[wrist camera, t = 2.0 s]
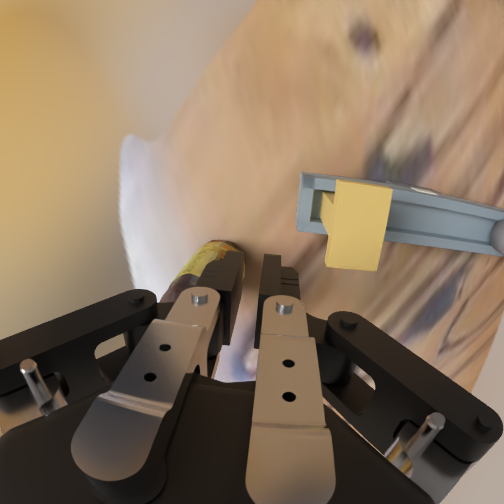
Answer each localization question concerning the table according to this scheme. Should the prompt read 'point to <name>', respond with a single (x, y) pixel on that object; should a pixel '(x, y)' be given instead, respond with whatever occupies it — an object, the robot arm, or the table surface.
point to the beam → (415, 216)
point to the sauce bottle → (197, 267)
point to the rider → (355, 223)
